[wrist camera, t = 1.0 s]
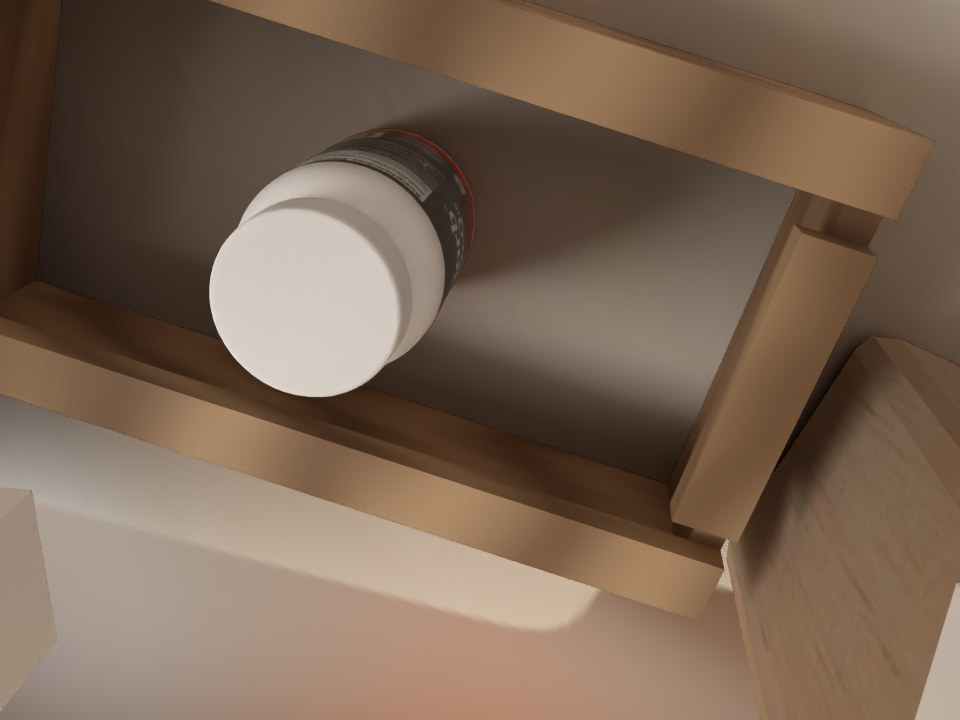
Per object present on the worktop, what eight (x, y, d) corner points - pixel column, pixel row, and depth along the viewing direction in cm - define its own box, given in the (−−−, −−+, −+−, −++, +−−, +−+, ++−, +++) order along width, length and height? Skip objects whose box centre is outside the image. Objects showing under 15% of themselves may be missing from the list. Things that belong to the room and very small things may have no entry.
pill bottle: (447, 318, 31) (380, 453, 22) (292, 260, 31) (162, 371, 22) (503, 162, 29) (455, 241, 20) (337, 98, 29) (213, 149, 20)
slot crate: (7, 296, 33) (-112, 357, 28) (43, -153, 27) (-100, -189, 22) (683, 515, 33) (698, 621, 28) (868, 110, 27) (935, 141, 22)
